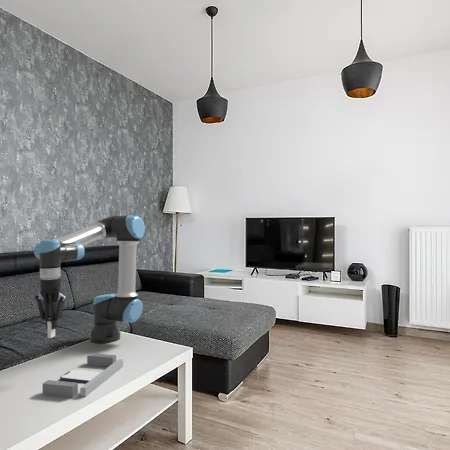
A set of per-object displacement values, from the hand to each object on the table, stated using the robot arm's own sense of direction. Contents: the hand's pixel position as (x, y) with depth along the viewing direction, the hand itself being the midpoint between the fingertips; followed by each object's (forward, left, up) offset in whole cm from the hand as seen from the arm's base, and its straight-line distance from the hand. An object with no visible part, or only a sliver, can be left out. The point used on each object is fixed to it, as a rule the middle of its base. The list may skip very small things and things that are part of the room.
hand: (51, 336), depth 149 cm
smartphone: (0, +14, -16) cm, 21 cm away
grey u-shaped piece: (0, +16, -15) cm, 22 cm away
